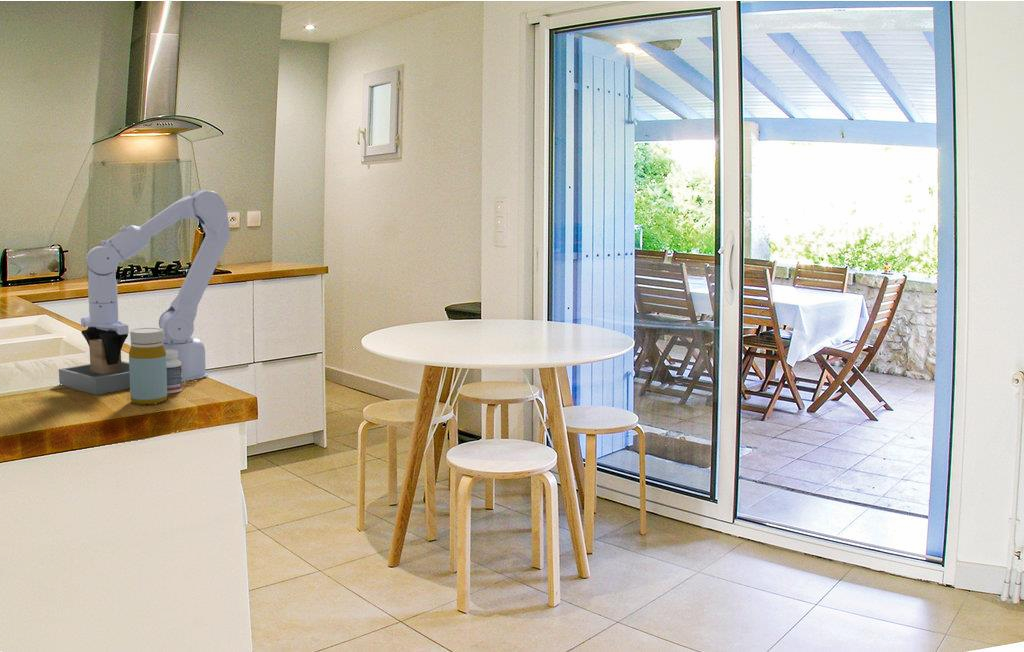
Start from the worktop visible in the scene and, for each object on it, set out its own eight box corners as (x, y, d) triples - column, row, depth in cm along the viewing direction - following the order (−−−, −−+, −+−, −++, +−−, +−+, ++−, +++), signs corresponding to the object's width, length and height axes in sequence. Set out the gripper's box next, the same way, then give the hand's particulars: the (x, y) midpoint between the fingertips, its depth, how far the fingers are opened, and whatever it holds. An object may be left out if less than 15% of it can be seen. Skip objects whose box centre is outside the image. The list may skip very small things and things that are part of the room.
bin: (116, 374, 195) (116, 359, 194) (153, 383, 188) (152, 368, 187) (59, 384, 183) (58, 369, 183) (96, 394, 176) (95, 378, 176)
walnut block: (109, 367, 188) (108, 337, 187) (121, 370, 186) (120, 339, 185) (90, 371, 184) (89, 339, 183) (102, 374, 182) (101, 342, 181)
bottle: (173, 402, 173) (170, 331, 171) (138, 407, 168) (136, 334, 166) (159, 395, 178) (156, 326, 176) (125, 400, 173) (122, 329, 171)
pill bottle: (186, 391, 182) (185, 351, 181) (163, 395, 178) (162, 354, 177) (175, 386, 186) (174, 347, 184) (152, 390, 182) (150, 350, 180)
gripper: (66, 299, 183) (69, 360, 185) (106, 307, 175) (108, 370, 178) (96, 296, 189) (99, 355, 191) (136, 303, 181) (138, 364, 184)
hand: (105, 362), depth 185 cm, fingers closed on walnut block, 4 cm apart
